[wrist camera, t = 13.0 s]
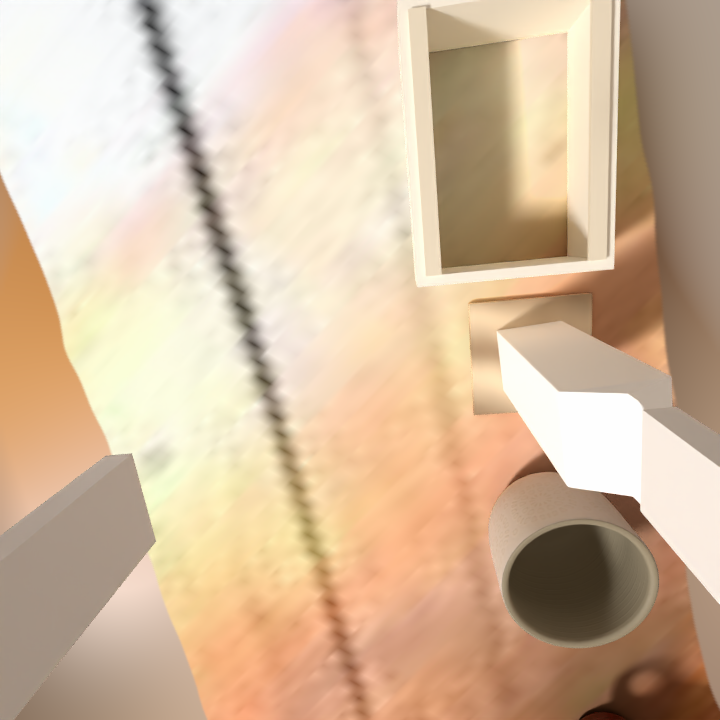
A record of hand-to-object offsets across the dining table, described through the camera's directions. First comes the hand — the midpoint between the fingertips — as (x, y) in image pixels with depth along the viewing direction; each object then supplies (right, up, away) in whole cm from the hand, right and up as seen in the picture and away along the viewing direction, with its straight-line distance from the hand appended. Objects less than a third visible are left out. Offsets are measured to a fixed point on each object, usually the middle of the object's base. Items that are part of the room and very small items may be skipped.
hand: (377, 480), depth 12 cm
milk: (+16, +4, +33) cm, 37 cm away
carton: (+11, +21, +29) cm, 38 cm away
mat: (+16, +4, +33) cm, 37 cm away
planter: (+19, -13, +37) cm, 44 cm away
